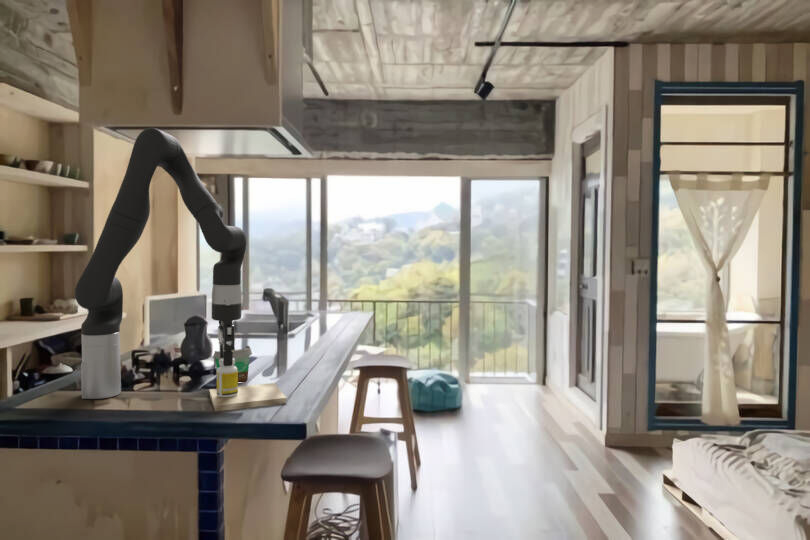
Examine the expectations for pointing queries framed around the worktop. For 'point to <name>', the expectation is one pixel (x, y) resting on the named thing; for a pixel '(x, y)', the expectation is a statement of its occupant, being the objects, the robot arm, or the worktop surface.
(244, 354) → the food container
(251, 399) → the birch board
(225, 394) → the supplement bottle
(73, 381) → the worktop surface
